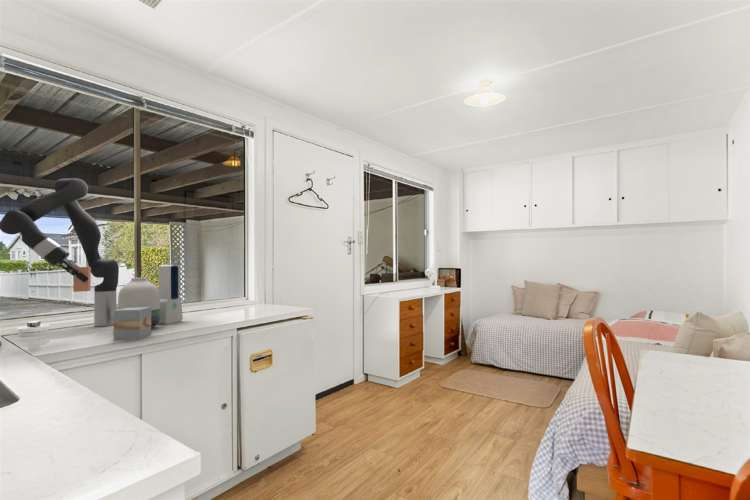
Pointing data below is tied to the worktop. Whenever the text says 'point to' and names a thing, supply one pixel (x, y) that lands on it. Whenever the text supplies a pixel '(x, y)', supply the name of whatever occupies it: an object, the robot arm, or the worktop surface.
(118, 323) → the tower slab middle
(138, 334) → the tower slab bottom
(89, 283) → the pillar
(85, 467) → the worktop surface
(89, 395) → the worktop surface
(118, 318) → the tower slab top
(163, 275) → the electronic device
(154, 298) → the vase
